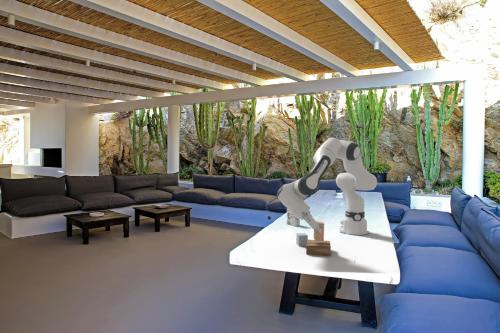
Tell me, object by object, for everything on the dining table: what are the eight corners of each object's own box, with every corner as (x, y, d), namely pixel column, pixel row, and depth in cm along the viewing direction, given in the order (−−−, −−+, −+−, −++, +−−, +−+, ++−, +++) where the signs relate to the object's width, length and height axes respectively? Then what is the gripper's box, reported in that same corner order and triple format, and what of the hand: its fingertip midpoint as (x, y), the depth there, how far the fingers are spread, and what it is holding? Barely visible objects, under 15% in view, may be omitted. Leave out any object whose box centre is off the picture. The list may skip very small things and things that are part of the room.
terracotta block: (313, 238, 179) (314, 221, 179) (322, 238, 179) (322, 221, 179) (314, 240, 175) (315, 223, 175) (323, 240, 175) (324, 223, 174)
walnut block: (307, 248, 184) (307, 239, 184) (329, 250, 182) (330, 241, 182) (306, 255, 173) (306, 245, 173) (330, 257, 170) (330, 247, 170)
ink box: (300, 225, 242) (300, 209, 241) (294, 226, 239) (295, 209, 238) (291, 223, 248) (291, 207, 248) (286, 224, 245) (286, 207, 245)
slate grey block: (296, 243, 193) (296, 233, 192) (304, 243, 193) (305, 233, 193) (298, 246, 188) (299, 235, 188) (307, 246, 188) (307, 235, 188)
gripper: (308, 210, 166) (328, 230, 166) (303, 203, 187) (321, 222, 187) (299, 219, 167) (319, 239, 167) (295, 211, 187) (312, 230, 187)
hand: (320, 230), depth 177 cm, fingers closed on terracotta block, 4 cm apart
